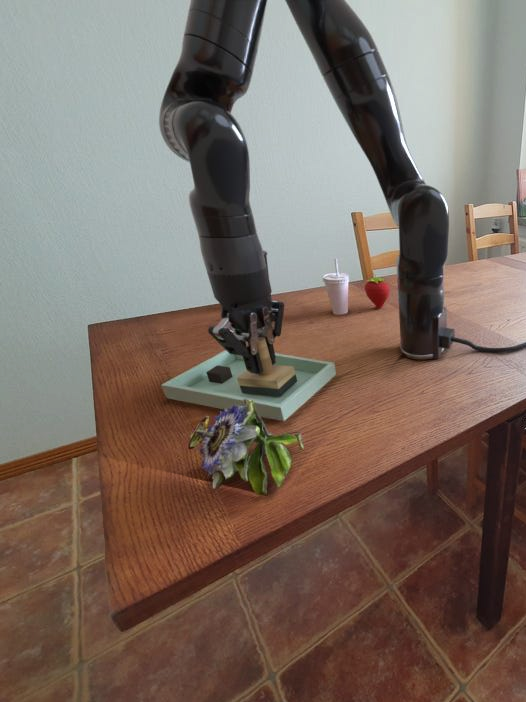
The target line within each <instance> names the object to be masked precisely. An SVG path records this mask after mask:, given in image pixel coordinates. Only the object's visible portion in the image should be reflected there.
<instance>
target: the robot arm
mask: <svg viewBox="0 0 526 702" xmlns="http://www.w3.org/2000/svg"><path fill="white" fill-rule="evenodd" d="M284 1H285V3H286V5H287V7H288V9H289V11H290V14H291V16H292V18H293V20H294V22H295V25H296V26H297V28H298V31H299V32H300V34H301V36H302V38H303V40H304V41H305V44H306V46H307V48H308V50H309V52H310V54H311V55H312V59H313V60H314V62H315V64H316V67H317V68H318V71H319V73H320V75H321V77H322V79H323V81H324V83H325V85H326V87H327V89H328V91H329V93H330V95H331V96H332V99H333V101H334V103H335V104H336V106H337V109H338V110H339V112H340V114H341V115H342V117H343V119H344V121H345V123H346V124H347V126H348V128H349V130H350V133H352V136H353V137H354V139H355V140H356V142H357V144H358V145H359V147H360V149H361V150H362V152H363V154H364V155H365V157H366V159H367V161H368V162H369V164H370V167H371V168H372V170H373V172H374V175H375V177H376V179H377V182H378V184H379V187H380V189H381V191H382V194H383V197H384V200H385V202H386V205H387V207H388V208H387V209H388V211H389V213H390V216H391V219H392V220H393V222H394V223H395V225H396V226H397V227H398V242H399V243H398V244H399V247H398V248H399V251H398V257H397V258H396V260H395V261H396V263H395V265H396V281H397V301H398V318H399V319H398V321H399V322H398V323H399V338H400V339H399V340H400V345H399V346H400V347H399V348H400V352H402V353H401V355H402V356H404V357H406V358H409V359H411V360H418V361H424V360H432V359H434V360H439V359H440V357H441V356H442V355H443V353H444V352H445V350H446V349H448V350H449V349H450V348H451V346H453V343H458V344H462V345H466V346H468V347H469V348H471V349H473V350H475V351H479V352H484V353H485V352H486V353H508V352H509V353H510V352H514V351H518V350H521V349H524V348H526V341H525V342H522V343H520V344H517V345H513V346H508V347H507V346H505V347H487V346H486V347H484V346H480V345H477V344H476V343H475V344H474V343H473V342H472V341H470V340H467V339H463V338H460V337H455V334H456V333H455V328H450V327H448V308H447V307H446V306H445V266H446V263H447V260H448V256H449V255H448V254H449V238H450V237H449V235H450V212H449V211H450V210H449V206H448V203H447V200H446V198H445V196H444V194H443V193H442V192H441V191H440V190H438V189H437V188H436V187H434V186H431V185H429V184H427V183H426V182H425V180H424V178H423V176H422V175H421V172H420V171H419V168H418V167H417V165H416V162H415V160H414V159H413V156H412V154H411V151H410V149H409V146H408V143H407V140H406V136H405V132H404V126H403V122H402V116H401V111H400V108H399V103H398V99H397V95H396V93H395V89H394V87H393V83H392V81H391V77H390V75H389V73H388V71H387V68H386V66H385V63H384V61H383V59H382V56H381V54H380V51H379V49H378V46H377V44H376V42H375V40H374V38H373V36H372V34H371V33H370V31H369V29H368V28H367V26H366V25H365V23H364V22H363V20H362V19H361V18H360V17H359V15H358V14H357V13H356V12H355V11H354V9H353V8H352V7H351V6H350V4H349V3H348V2H347V1H346V0H284ZM267 6H268V0H190V2H189V7H188V12H187V16H186V22H185V26H184V32H183V37H182V42H181V52H180V56H179V59H178V61H177V63H176V65H175V67H174V69H173V71H172V74H171V76H170V79H169V81H168V84H167V86H166V88H165V92H164V94H163V97H162V101H161V104H160V109H159V113H158V114H159V115H158V126H159V132H160V135H161V137H162V139H163V142H164V143H165V145H166V147H168V149H169V150H170V151H171V152H172V153H173V154H174V155H175V156H177V157H178V158H180V159H181V160H183V161H185V162H188V163H189V166H190V169H191V174H192V180H193V189H191V191H189V194H188V203H189V208H190V211H191V214H192V218H193V222H194V226H195V229H196V232H197V235H198V240H199V246H200V254H201V257H202V260H203V263H204V267H205V270H206V274H207V277H208V280H209V284H210V286H211V290H212V294H213V297H214V299H215V300H216V301H217V302H218V303H219V304H220V307H221V310H220V311H221V312H220V318H221V320H220V321H219V323H218V324H217V325H216V326H215V325H211V326H209V327H208V329H207V332H208V334H209V335H210V336H211V337H212V338H213V339H214V340H215V341H216V342H217V343H218V344H219V345H220V346H221V347H222V348H223V349H224V351H225V350H226V351H227V352H228V353H229V354H234V355H240V356H243V359H244V363H245V366H246V369H247V371H249V372H250V373H254V374H260V373H262V372H263V368H262V364H261V360H260V356H259V353H257V351H258V350H257V343H256V340H257V339H258V337H264V338H265V340H266V343H267V347H268V351H269V354H270V358H271V361H272V365H274V364H275V363H276V361H275V359H276V356H275V353H276V351H275V348H274V344H275V341H276V340H275V339H276V338H279V337H280V336H281V335H282V327H283V319H284V311H285V303H284V302H283V301H278V300H272V298H271V299H270V297H269V296H270V294H271V295H272V293H273V292H272V287H271V286H272V285H271V281H270V275H269V276H268V273H269V271H268V272H267V267H266V263H265V258H264V254H263V251H264V250H263V246H262V244H261V241H260V239H259V236H258V235H259V234H258V230H257V227H256V223H255V217H254V213H253V209H252V205H251V201H250V195H251V193H250V192H251V165H250V164H251V161H250V151H249V147H248V143H247V139H246V136H245V132H244V131H243V129H242V126H241V125H240V123H239V121H238V120H237V118H236V117H235V116H234V115H233V114H232V111H233V108H234V105H235V104H236V102H237V101H238V100H240V99H241V98H242V97H244V96H245V95H246V94H247V93H248V92H249V91H248V90H249V89H250V85H251V82H252V78H253V73H254V69H255V65H256V60H257V57H258V51H259V47H260V42H261V37H262V31H263V26H264V21H265V16H266V10H267ZM271 300H272V301H271ZM273 322H274V325H273Z"/></svg>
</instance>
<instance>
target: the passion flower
mask: <svg viewBox="0 0 526 702" xmlns="http://www.w3.org/2000/svg"><path fill="white" fill-rule="evenodd" d="M243 400H244V402H245V404H246V406H244V407H243V406H241V407H239V405H234V406H233V408H231V407H229V410H227V409H223V411H219V415H214V418H215V423H213V424H209V420H210V416H209V415H205V417H204V418H202V419H201V420H200V422H199V423H198V424H197V425H196V428H195V430H194V431H193V432H192V433H190V434H191V435H190V436H189V437H190V440H189V442H188V446H187V447H188V448H187V449H188V450H193V449H194V448H195V447H197V446H199V445H200V444H202V446H201V447H200V448H199V452H200V454H201V455H203V458H202V460H203V461H202V462H201V467H202V468H201V470H202V472H203V471H204V472H207V474H208V475H207V476H206V477H207V478H209V476H211V479H212V489H213V490H217V489H219V488H221V487H222V485H223V484H224V482H225V480H229V479H231V478H232V477H233V476H235V474H236V472H237V473H238V475H239V477H240V479H242V480H243V481H244V482H248V481H249V483H250V485H251V489H252V490H253V492H254V493H255V494H256V495H259V496H260V495H261V496H264V497H267V496H268V494H267V493H268V490H267V488H268V484H269V483H268V482H269V476H268V473H267V470H266V464H265V462H264V456H266V460H267V463H268V465H269V468H270V471H271V472H270V474H271V477H272V478H273V482H274V484H275V486H276V487H277V489H279V488H280V487H281V485H282V484H283V482H284V481H285V479H286V476H287V475H288V474H289V471H290V469H291V465H292V457H291V453H290V451H289V450H288V449H287V447H285V446H284V445H292V444H295V443H296V442H298V446H299V449H300V450H301V451H303V450H304V449H305V445H304V441H303V438H302V431H301V430H298V431H296V430H295V431H289V432H285V433H280V434H275V435H274V434H272V433H271V432H270V431H269V430H268V428H267V426H266V424H265V422H264V421H263V418H262V417H260V415H259V413H258V411H257V408H256V407H255V404H254V401H253V400H252V401H251V400H247V399H243ZM253 412H254V413H255V414H256V415H257V416H255V415H252V414H253ZM208 425H209V426H208ZM292 434H294V435H292ZM255 442H256V444H255V445H256V446H255V448H254V449H253V450H252V451H251V452H250V448H251V446H252V445H253V444H254V443H255ZM249 452H250V455H249ZM248 455H249V456H248Z"/></svg>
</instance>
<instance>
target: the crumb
mask: <svg viewBox="0 0 526 702" xmlns="http://www.w3.org/2000/svg"><path fill="white" fill-rule="evenodd" d="M206 373H207V376H208V379H209V382H214V383H221V384H222V383H224V382H225V381H227V380H228V379H230V378H231V377H232V373H231V370H230V367H224V366H216V367H214V368H212V369H211V370H209V371H207V372H206Z"/></svg>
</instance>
